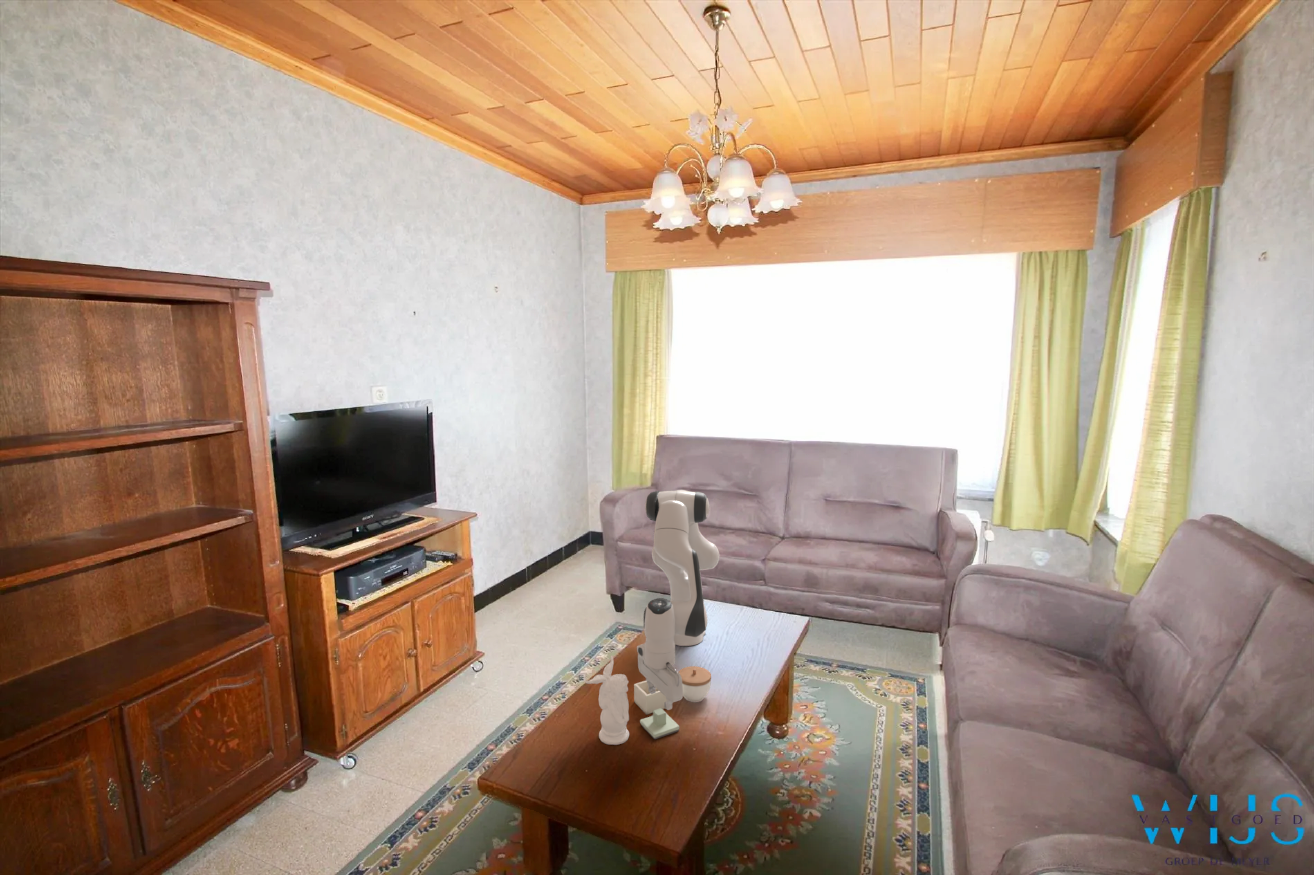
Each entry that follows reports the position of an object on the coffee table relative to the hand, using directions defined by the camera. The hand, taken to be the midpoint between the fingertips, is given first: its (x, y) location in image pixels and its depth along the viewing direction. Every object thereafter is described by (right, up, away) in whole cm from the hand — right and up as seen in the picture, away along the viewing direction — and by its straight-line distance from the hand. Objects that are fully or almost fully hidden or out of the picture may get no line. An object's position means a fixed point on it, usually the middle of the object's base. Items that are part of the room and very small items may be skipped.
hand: (660, 700), depth 179 cm
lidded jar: (+11, -7, +17) cm, 22 cm away
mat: (0, -8, +1) cm, 8 cm away
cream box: (-3, -7, +13) cm, 15 cm away
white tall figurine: (-15, -9, -3) cm, 18 cm away
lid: (0, -8, +1) cm, 8 cm away
